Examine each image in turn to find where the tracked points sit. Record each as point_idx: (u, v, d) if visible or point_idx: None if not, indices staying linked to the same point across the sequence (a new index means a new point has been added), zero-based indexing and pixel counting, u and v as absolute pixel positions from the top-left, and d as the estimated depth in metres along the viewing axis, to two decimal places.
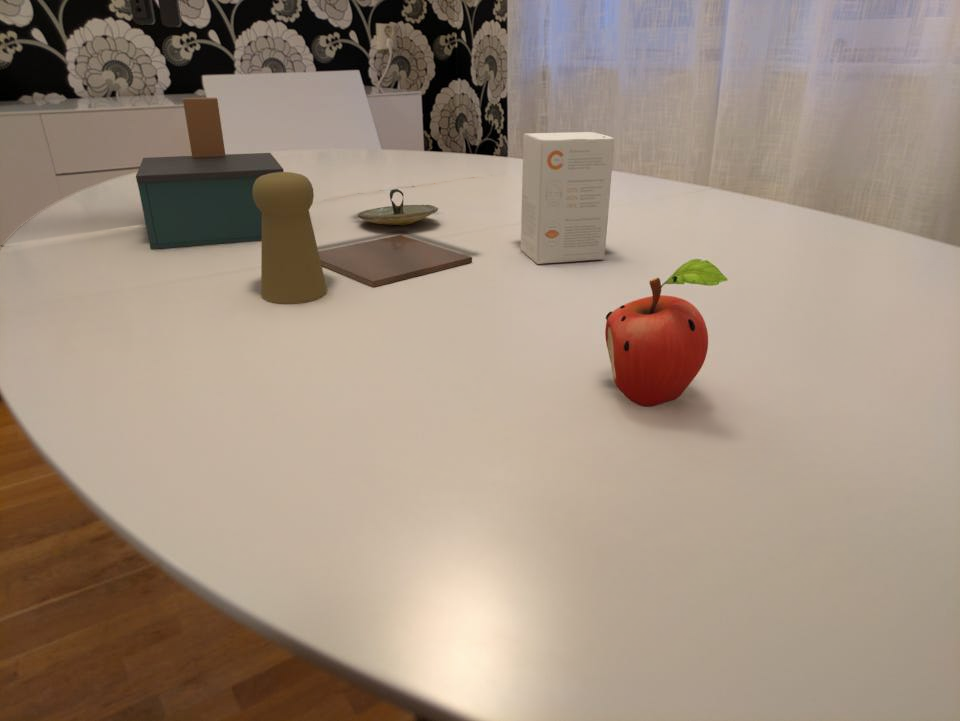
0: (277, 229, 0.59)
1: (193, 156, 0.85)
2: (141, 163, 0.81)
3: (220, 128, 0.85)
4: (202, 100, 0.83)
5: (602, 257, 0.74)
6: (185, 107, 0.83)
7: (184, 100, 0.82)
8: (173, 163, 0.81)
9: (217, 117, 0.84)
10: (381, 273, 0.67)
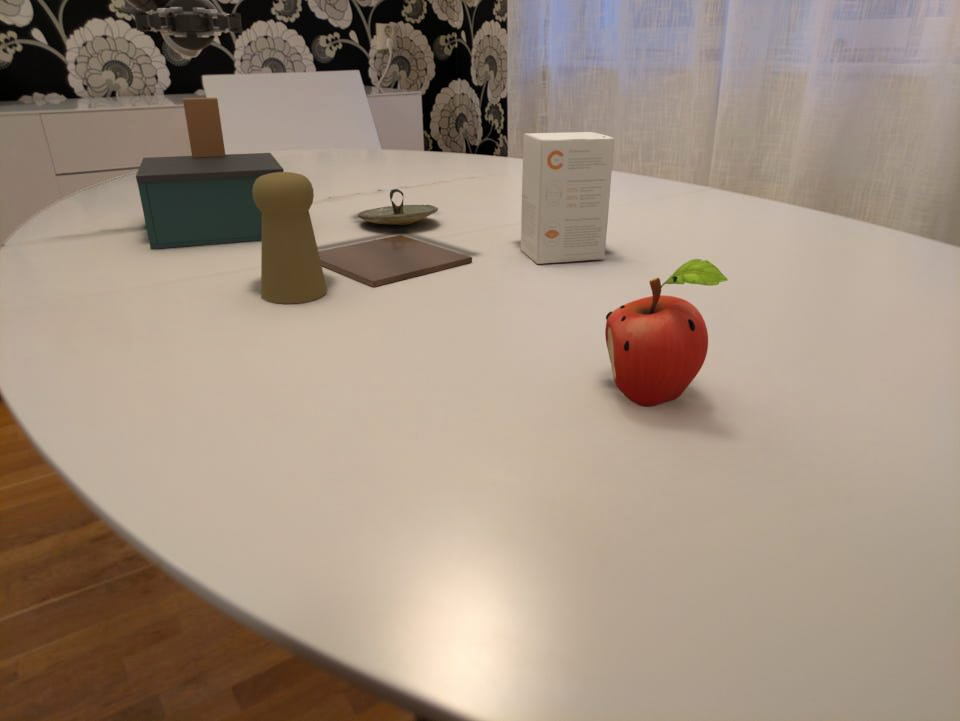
0: (277, 229, 0.59)
1: (193, 156, 0.85)
2: (141, 163, 0.81)
3: (220, 128, 0.85)
4: (202, 100, 0.83)
5: (602, 257, 0.74)
6: (185, 107, 0.83)
7: (184, 100, 0.82)
8: (173, 163, 0.81)
9: (217, 117, 0.84)
10: (381, 273, 0.67)
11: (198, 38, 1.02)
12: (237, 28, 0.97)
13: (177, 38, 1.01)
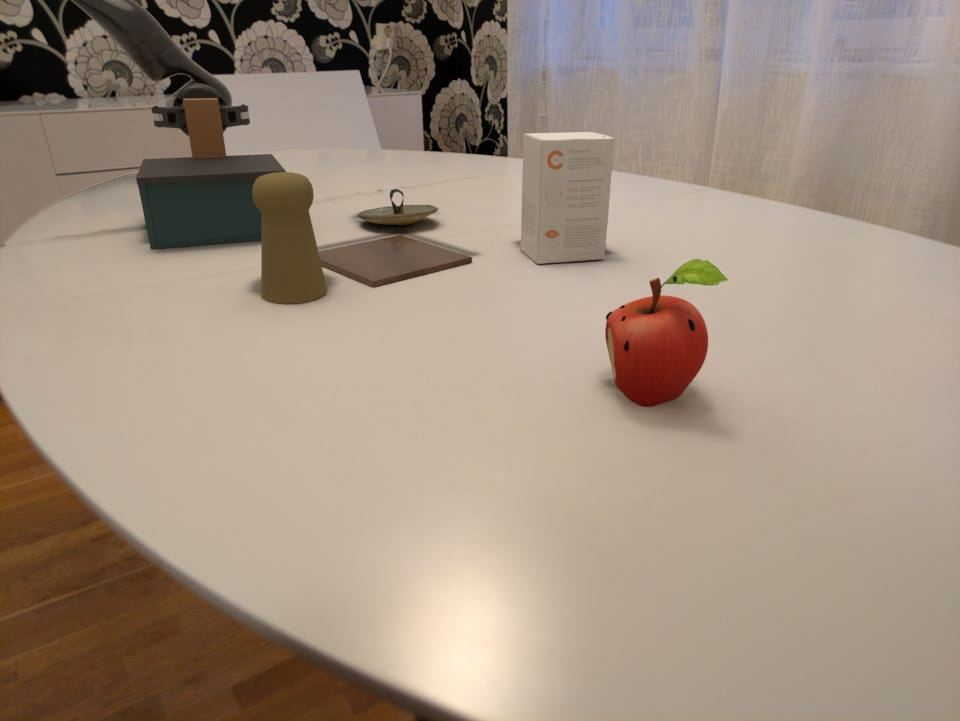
0: (277, 229, 0.59)
1: (194, 157, 0.84)
2: (141, 165, 0.80)
3: (221, 129, 0.84)
4: (203, 101, 0.82)
5: (602, 257, 0.74)
6: (185, 108, 0.82)
7: (184, 101, 0.81)
8: (173, 165, 0.80)
9: (218, 118, 0.83)
10: (381, 273, 0.67)
11: None
12: None
13: None
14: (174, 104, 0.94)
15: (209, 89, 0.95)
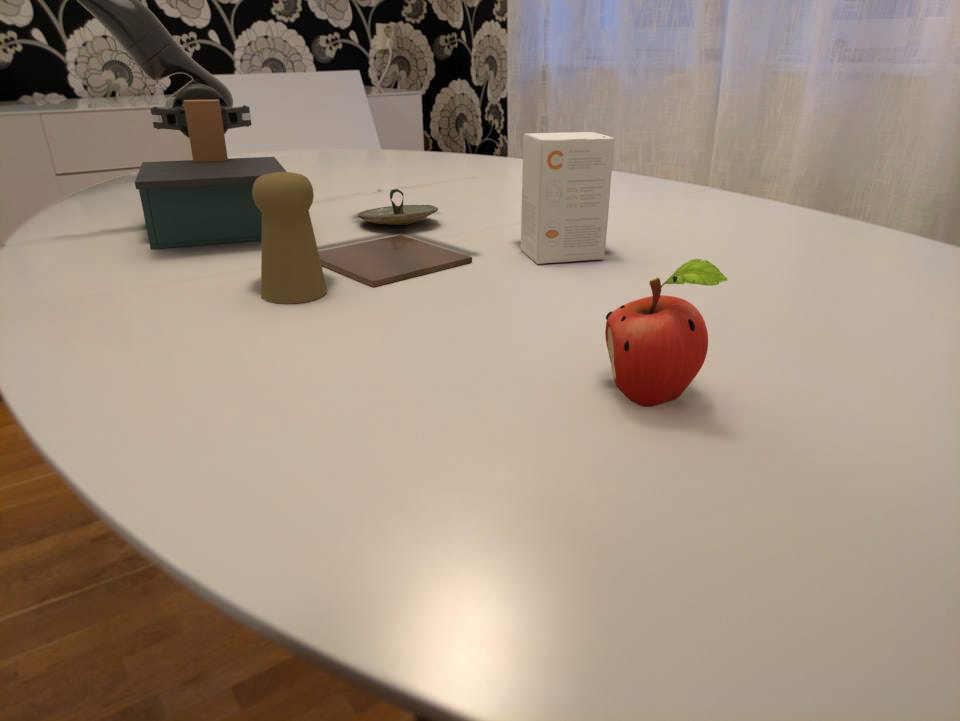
0: (277, 229, 0.59)
1: (194, 160, 0.82)
2: (140, 168, 0.77)
3: (222, 131, 0.82)
4: (204, 102, 0.80)
5: (602, 257, 0.74)
6: (186, 109, 0.79)
7: (185, 102, 0.79)
8: (173, 168, 0.78)
9: (219, 120, 0.81)
10: (381, 273, 0.67)
11: None
12: None
13: None
14: (174, 105, 0.91)
15: (210, 90, 0.92)
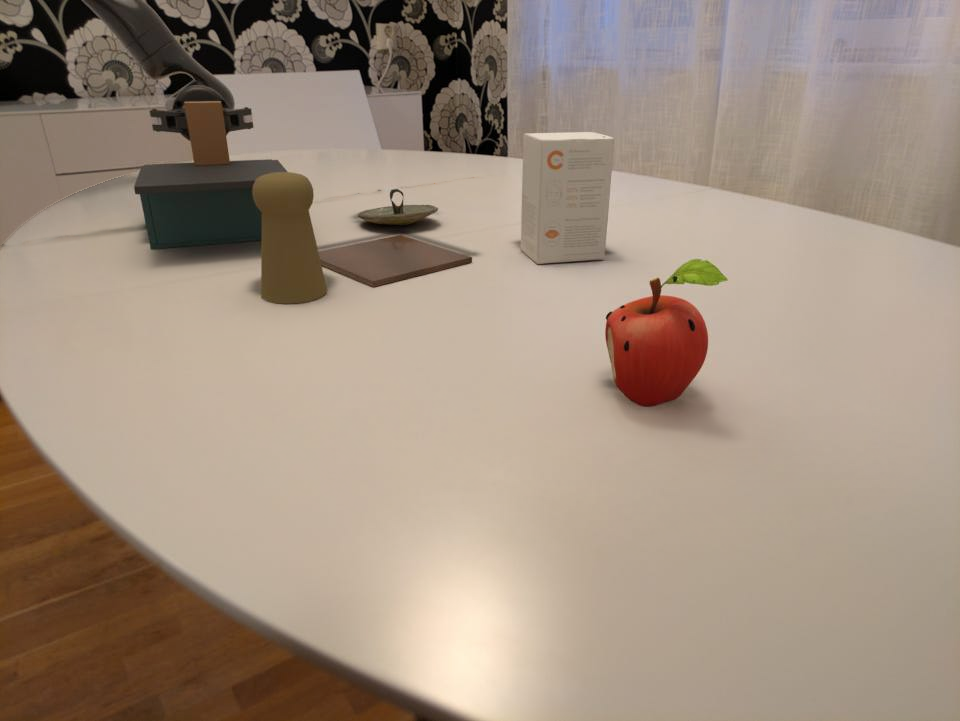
0: (277, 229, 0.59)
1: (195, 164, 0.79)
2: (139, 172, 0.75)
3: (224, 134, 0.79)
4: (205, 104, 0.77)
5: (602, 257, 0.74)
6: (187, 111, 0.77)
7: (186, 104, 0.77)
8: (174, 172, 0.75)
9: (221, 122, 0.79)
10: (381, 273, 0.67)
11: None
12: None
13: (188, 134, 0.91)
14: (174, 107, 0.89)
15: (210, 91, 0.90)
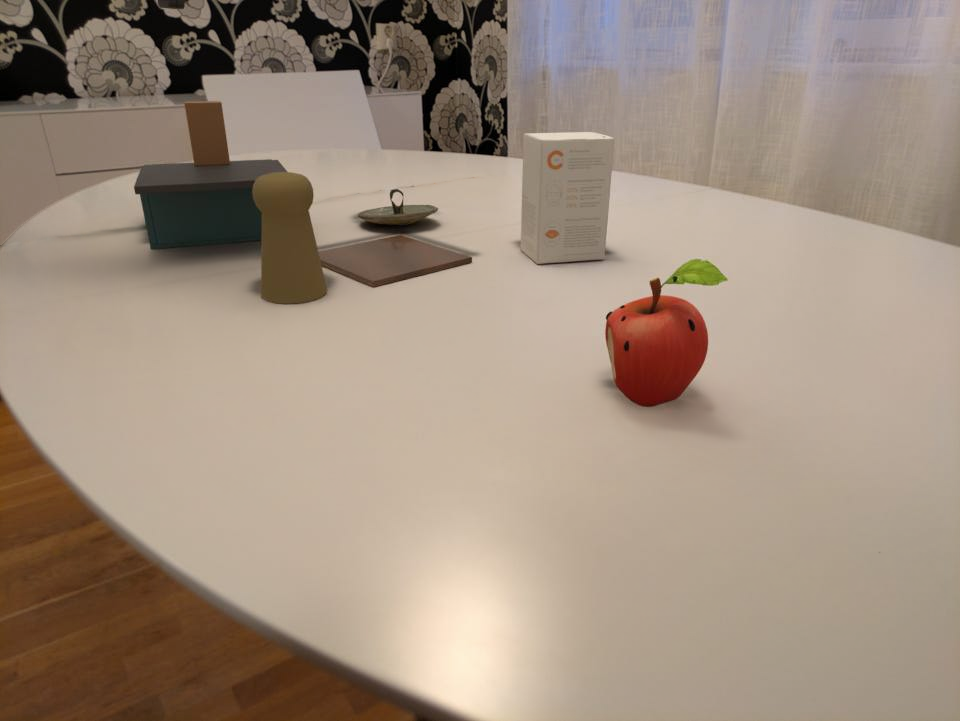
0: (277, 229, 0.59)
1: (195, 164, 0.79)
2: (139, 172, 0.75)
3: (224, 134, 0.79)
4: (205, 104, 0.77)
5: (602, 257, 0.74)
6: (187, 111, 0.77)
7: (186, 104, 0.77)
8: (174, 172, 0.75)
9: (221, 122, 0.79)
10: (381, 273, 0.67)
11: None
12: None
13: None
14: None
15: None
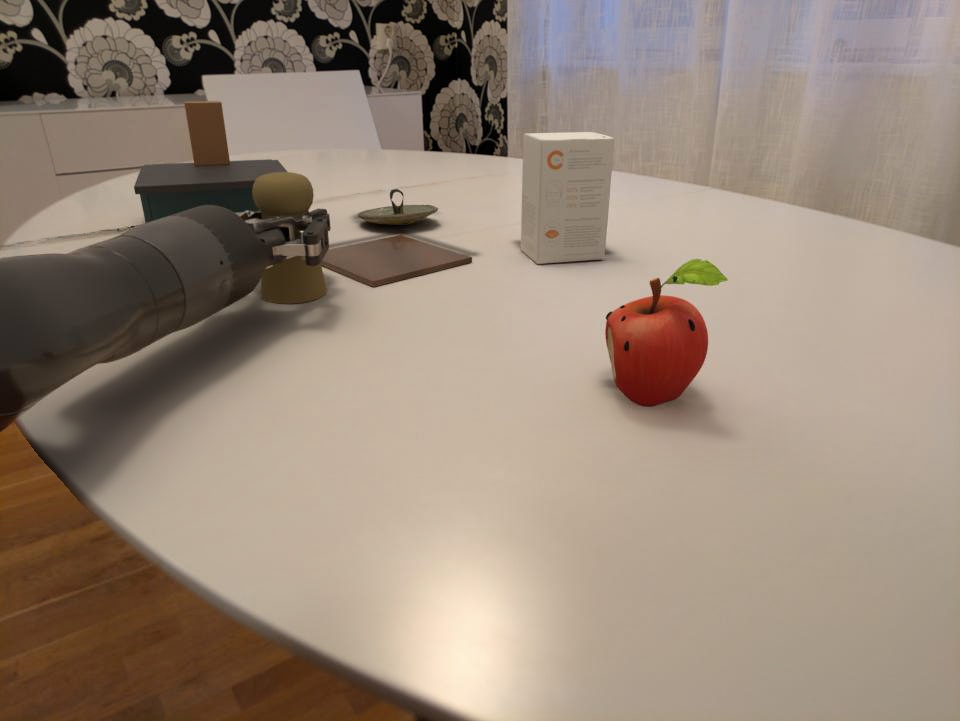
0: None
1: (195, 164, 0.79)
2: (139, 172, 0.75)
3: (224, 134, 0.79)
4: (205, 104, 0.77)
5: (602, 257, 0.74)
6: (187, 111, 0.77)
7: (186, 104, 0.77)
8: (174, 172, 0.75)
9: (221, 122, 0.79)
10: (381, 273, 0.67)
11: None
12: None
13: None
14: None
15: None
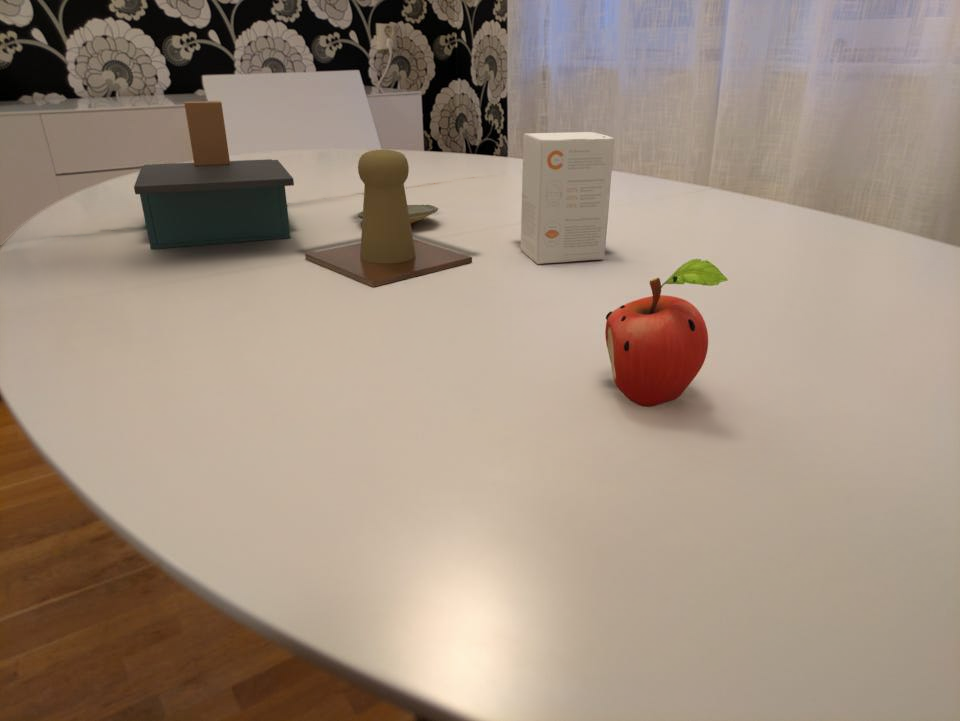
0: (379, 199, 0.68)
1: (195, 164, 0.79)
2: (139, 172, 0.75)
3: (224, 134, 0.79)
4: (205, 104, 0.77)
5: (602, 257, 0.74)
6: (187, 111, 0.77)
7: (186, 104, 0.77)
8: (174, 172, 0.75)
9: (221, 122, 0.79)
10: (381, 273, 0.67)
11: None
12: None
13: None
14: None
15: None
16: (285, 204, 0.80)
